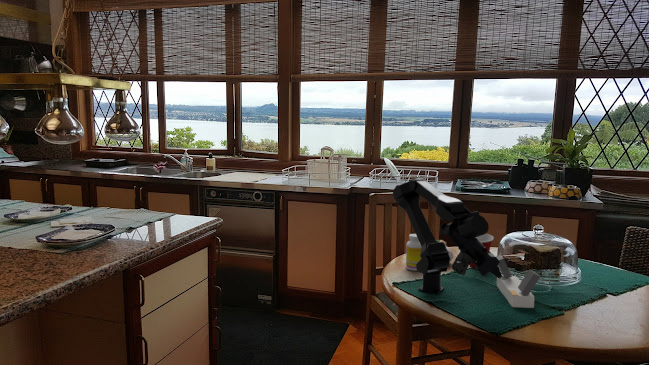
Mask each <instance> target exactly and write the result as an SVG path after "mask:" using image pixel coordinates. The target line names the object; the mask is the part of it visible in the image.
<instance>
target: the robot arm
mask: <svg viewBox="0 0 649 365" xmlns="http://www.w3.org/2000/svg"><path fill="white" fill-rule="evenodd" d="M392 196H393V198H394V200H395V202H396V204H397V205H398V206H399V207H401V208H402V209H403V210H405V212H406V214H407V218H408V219H409V222H410V224H411V226H412V228H413V230H414V232H415V233H414V234H416V235H417V238H418V240H419V242H420V244H421V252H420V257H421V259H420V261H419V262H418V263H417V264H416V268H417V271H416V272H419V273H420V274H422V285H421V286H420V287H418V288H417V289H418V291H419V292H420V291H421V292H425V293H428V294H434V295H438V294H440V293H441V292H442V291H443V290H445V286H442V285H441V284H442V283H441V281H442V273H444V272H445V273H447V272H448V268H449V266H450V263H451V261H450V257H449V254H448V253H449V252H448V251H447V249H446V246H447V245H446V246H445V244H444V243H443V242H437V241H436V239H435V236H434V233H433V231H432V230H431V228H430V225H429V222H428V221H427V219H426V217H425V214H424V213H423V211H422V208H421V206H420V197H422V198H423V199H424V200H426V201H427V203H429V204H430V205H431V206H433V207H434V210H435V214H437V216H438V217H439V218H440V220H442V221H444V222H443V223H442V224H441V225H440V227H439V228H440V231H439V232H440V233H439V234H440V236H444V235H446V236H447V237H448V238H449V239H450V241H451V242H453V244H454V245H456V246H457V248H458V249H457V250H459V253H457V255H456V257H455V259H454V261H453V263H452V265H451V269H452V270H453V272H455V273H457V274H458V275H461V276H465V275H466V273H467V271H468V269H469V267H470V262H471V263H472V264H473V263H474V264H475V266H476V268H475V270H477V272H478V273H480V275H481V276H482V277H485V276H486V275H488V274H489V273H490V274H492V275H493V276H495V277H496V278H497V277H498V278H499V279H500V278H501V277H502V276H503V275H502V272H501V270H500V268H499V266H498V264H499V263H500V261H499V260H498V259H497V258H496V257H497V256H495V255H494V254H493V253H492V252H491V251H488V250H487V249H486V248H485V245H484V244H483V243H482V242H481V241H479V240H478V239H477V238H476V237H478V236H481V235H484V234H488V231H489V227H490V225H489V222H488V221H487V219H486V218H485V217H483V215H481V214H480V212H479V211H478V210H477V211H470V210H469V208H468V207H467V206H466V205H465V203H464V202H463V201H462V200H460V199H458V198H456V197H452V196H448V195H446V194H444V193H443V192H441V191H440V190H439V189H437V188H436V187H435V186H433V185H432V184H430V183H429V182H428V180H427V179H426V178H422V177H421V178H412V179H410V180H409V181H406V182H404V183H401V184H397V185H395V187H394V188H393V190H392ZM445 221H447V222H449V223H445ZM487 251H488V252H487ZM485 252H486V253H485Z"/></svg>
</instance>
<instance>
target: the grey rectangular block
mask: <svg viewBox="0 0 649 365" xmlns="http://www.w3.org/2000/svg"><path fill="white" fill-rule="evenodd" d="M540 278H541V276H540V275H539V274H538V273H537V272H535V271H534V270H532V269H528V271H527V272H526V274H525V276H523V279H522V280H521V283H520V285H519V286H518V288H519V290H520V291H521V292H522V293H524V294H526V295H529V293H530V292H531V293H532V290H534V287H535V286H536V284H537V283H538V281H539V279H540Z"/></svg>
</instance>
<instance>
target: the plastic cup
mask: <svg viewBox="0 0 649 365" xmlns="http://www.w3.org/2000/svg"><path fill="white" fill-rule="evenodd" d="M476 238H477V239H478V240H479V241H481V242H482V243H483V244H484V245H485V248H486V249H487V250H488V251H490V250H491V246H492V243H493V241H494V236H493V235H491V234H489V233H486V234H484V235H481V236H478V237H476ZM488 251H487V252H488ZM490 252H491V251H490ZM485 253H486V252H485ZM469 267H470V268H473V269H476V266H475V264H474V263H473V264H472V263H471V262H470V265H469Z"/></svg>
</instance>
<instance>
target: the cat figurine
mask: <svg viewBox="0 0 649 365" xmlns="http://www.w3.org/2000/svg"><path fill="white" fill-rule="evenodd" d="M435 240H436V241H437V242H438V243H439V242H443V243H444V244H445V246H446V249H447V251H448V252H449V253H448V254H449V257H450V262H451V261H452V260H454V253H453V251H452V250H451V248H450V247H448V246H447V241H444V240H443V239H435Z"/></svg>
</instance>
